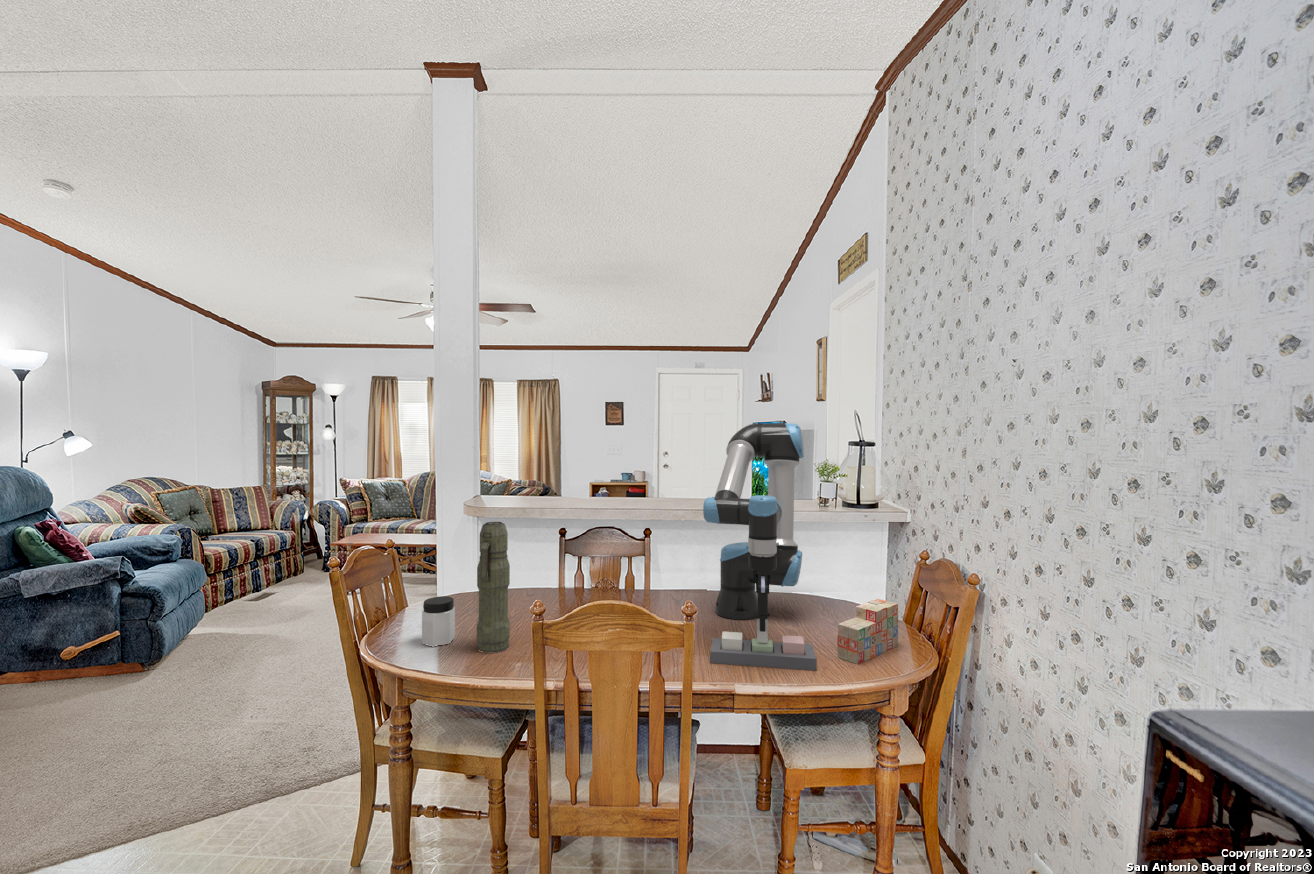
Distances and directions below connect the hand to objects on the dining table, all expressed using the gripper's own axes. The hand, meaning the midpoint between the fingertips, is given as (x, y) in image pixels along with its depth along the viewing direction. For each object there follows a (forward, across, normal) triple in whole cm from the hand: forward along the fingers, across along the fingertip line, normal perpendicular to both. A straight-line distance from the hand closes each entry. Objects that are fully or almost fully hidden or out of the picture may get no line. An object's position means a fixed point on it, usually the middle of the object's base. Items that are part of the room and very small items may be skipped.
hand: (762, 641), depth 148 cm
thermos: (+5, -5, +74) cm, 75 cm away
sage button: (+4, 0, 0) cm, 4 cm away
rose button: (+3, 0, -8) cm, 8 cm away
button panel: (+5, 0, 0) cm, 5 cm away
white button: (+3, 0, +8) cm, 8 cm away
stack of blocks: (+5, +11, -29) cm, 32 cm away
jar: (+5, -4, +92) cm, 92 cm away
